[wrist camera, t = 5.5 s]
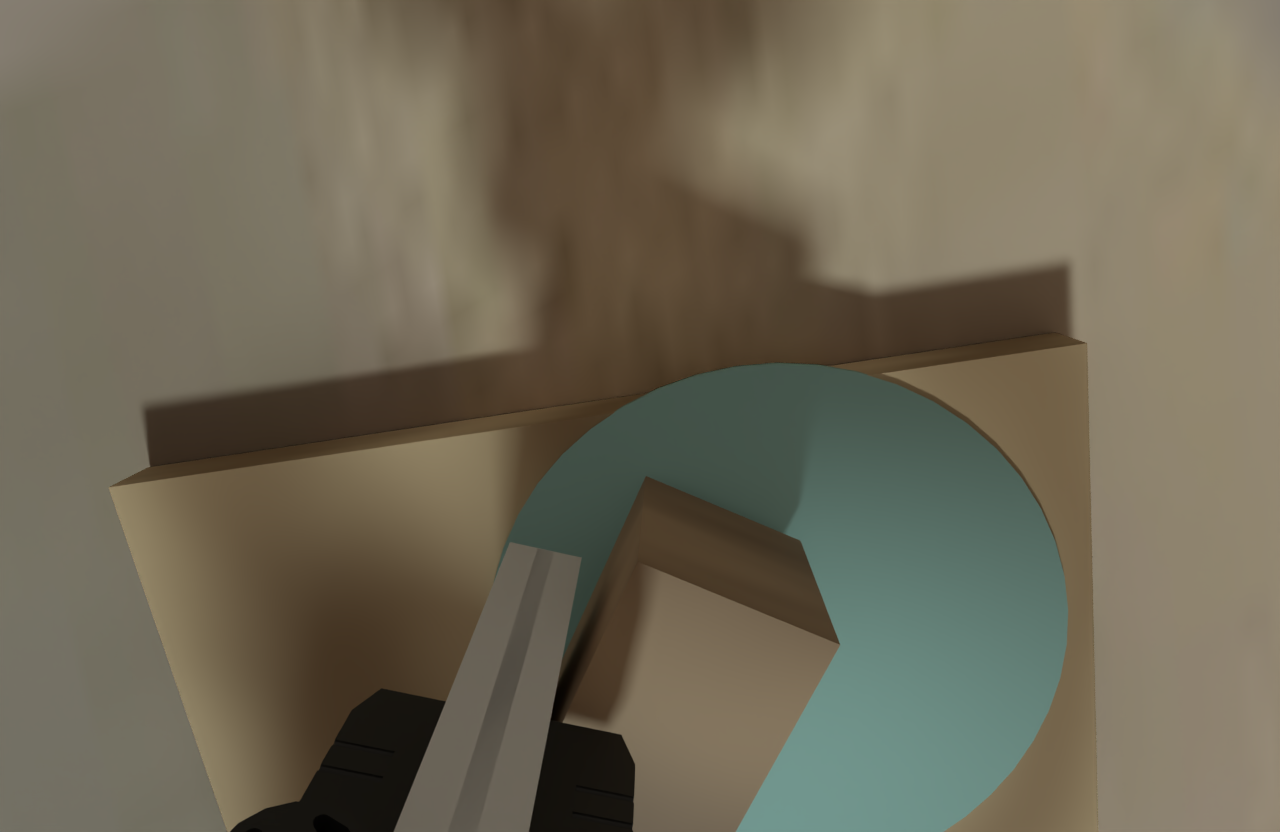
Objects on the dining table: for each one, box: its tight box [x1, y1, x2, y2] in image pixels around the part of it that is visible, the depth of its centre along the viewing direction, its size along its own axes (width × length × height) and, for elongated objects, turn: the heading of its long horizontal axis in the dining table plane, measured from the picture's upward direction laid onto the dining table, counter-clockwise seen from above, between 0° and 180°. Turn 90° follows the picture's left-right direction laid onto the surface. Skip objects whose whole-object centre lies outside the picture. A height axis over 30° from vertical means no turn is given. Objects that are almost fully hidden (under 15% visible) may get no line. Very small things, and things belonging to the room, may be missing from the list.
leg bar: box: [550, 476, 840, 832], centre depth 14 cm, size 10×3×4 cm, turn 157°
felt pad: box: [494, 363, 1068, 832], centre depth 16 cm, size 11×11×1 cm
